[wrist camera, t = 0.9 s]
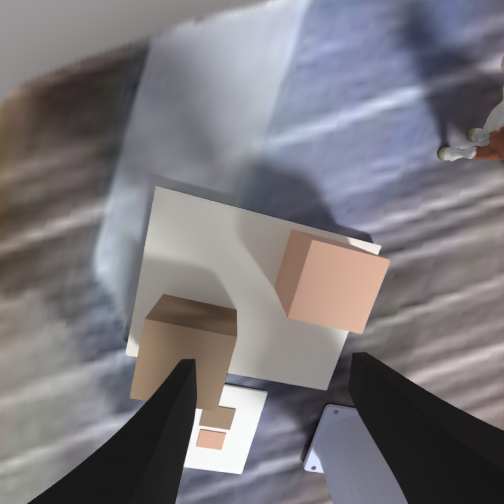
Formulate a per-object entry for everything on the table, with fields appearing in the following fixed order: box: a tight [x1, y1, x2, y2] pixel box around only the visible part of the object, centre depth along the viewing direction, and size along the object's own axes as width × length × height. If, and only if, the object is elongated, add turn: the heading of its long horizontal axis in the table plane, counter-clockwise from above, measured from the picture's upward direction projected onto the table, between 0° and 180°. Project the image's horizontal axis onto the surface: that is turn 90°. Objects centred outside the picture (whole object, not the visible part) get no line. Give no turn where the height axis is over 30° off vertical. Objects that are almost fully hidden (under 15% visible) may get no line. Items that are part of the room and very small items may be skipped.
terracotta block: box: [274, 229, 391, 334], centre depth 17 cm, size 5×5×5 cm
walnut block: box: [130, 294, 237, 412], centre depth 18 cm, size 6×6×4 cm
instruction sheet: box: [184, 384, 268, 474], centre depth 23 cm, size 8×10×1 cm
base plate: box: [126, 186, 381, 390], centre depth 20 cm, size 18×14×1 cm
